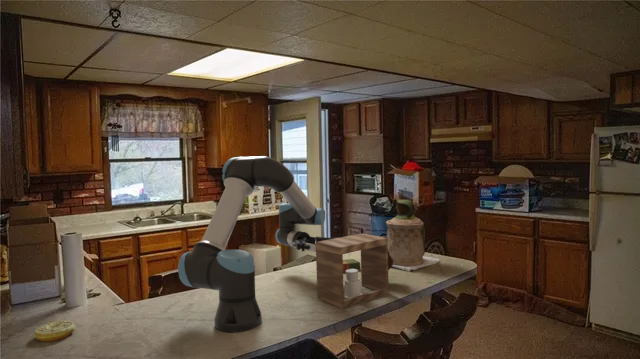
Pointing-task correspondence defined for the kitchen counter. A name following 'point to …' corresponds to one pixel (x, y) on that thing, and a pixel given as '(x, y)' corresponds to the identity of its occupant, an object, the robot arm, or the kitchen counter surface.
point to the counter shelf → (332, 267)
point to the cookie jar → (407, 238)
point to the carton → (351, 264)
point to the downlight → (352, 284)
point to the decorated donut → (54, 330)
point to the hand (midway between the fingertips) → (328, 246)
